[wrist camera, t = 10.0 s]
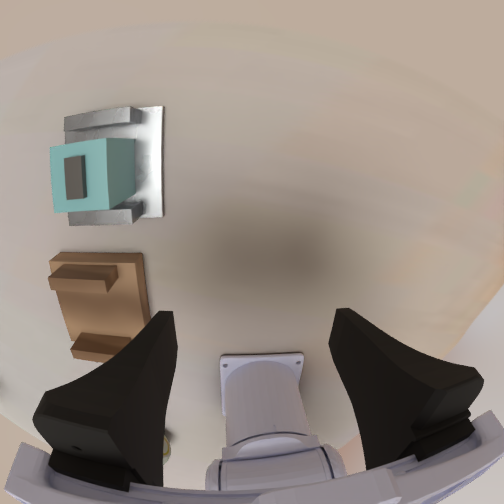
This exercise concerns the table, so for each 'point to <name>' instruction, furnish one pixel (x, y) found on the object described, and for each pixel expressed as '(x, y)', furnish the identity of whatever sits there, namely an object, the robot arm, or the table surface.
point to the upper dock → (100, 300)
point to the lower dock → (145, 157)
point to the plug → (92, 174)
